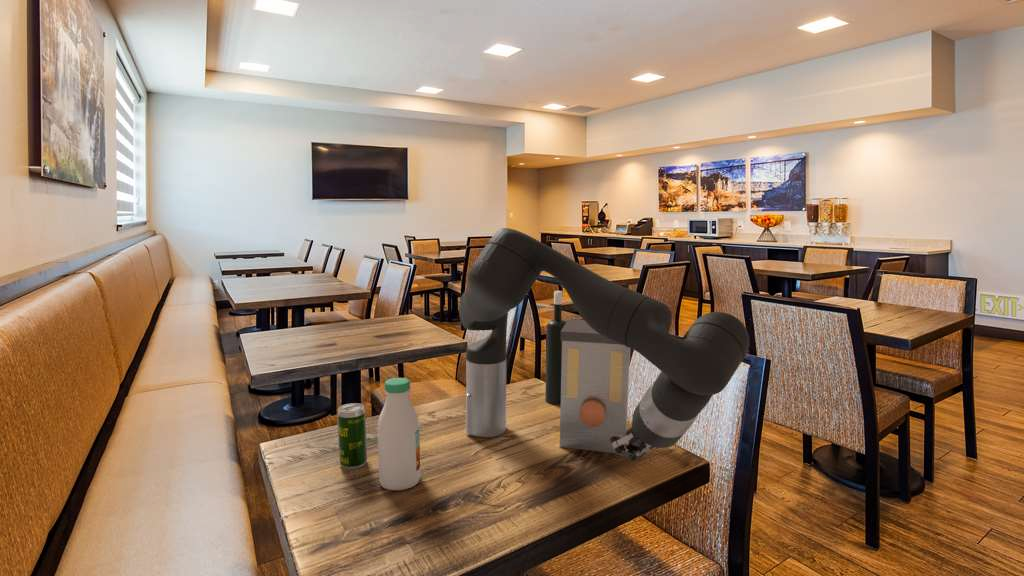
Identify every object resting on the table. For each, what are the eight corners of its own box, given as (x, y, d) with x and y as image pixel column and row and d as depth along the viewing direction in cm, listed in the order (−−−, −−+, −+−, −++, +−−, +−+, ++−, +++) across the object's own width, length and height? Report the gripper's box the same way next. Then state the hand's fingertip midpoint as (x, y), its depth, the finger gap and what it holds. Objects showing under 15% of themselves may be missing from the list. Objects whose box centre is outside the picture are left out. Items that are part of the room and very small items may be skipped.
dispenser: (626, 455, 115) (631, 335, 110) (558, 447, 118) (560, 331, 114) (627, 431, 127) (632, 322, 123) (566, 424, 130) (568, 319, 126)
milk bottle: (411, 494, 99) (408, 389, 96) (372, 489, 100) (368, 386, 97) (426, 473, 106) (424, 375, 103) (389, 469, 108) (386, 373, 105)
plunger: (604, 428, 113) (604, 404, 112) (579, 425, 114) (579, 402, 113) (608, 404, 126) (609, 382, 125) (585, 402, 127) (586, 381, 126)
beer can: (357, 455, 114) (355, 400, 112) (372, 463, 110) (370, 407, 108) (334, 464, 110) (331, 408, 108) (349, 473, 106) (347, 415, 104)
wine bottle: (568, 398, 148) (571, 289, 143) (564, 405, 142) (567, 293, 138) (547, 395, 149) (549, 288, 145) (543, 403, 144) (545, 292, 139)
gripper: (636, 449, 74) (607, 489, 87) (718, 423, 77) (678, 465, 91) (613, 400, 78) (588, 445, 91) (692, 377, 81) (657, 425, 95)
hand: (633, 455), depth 91 cm, fingers closed
